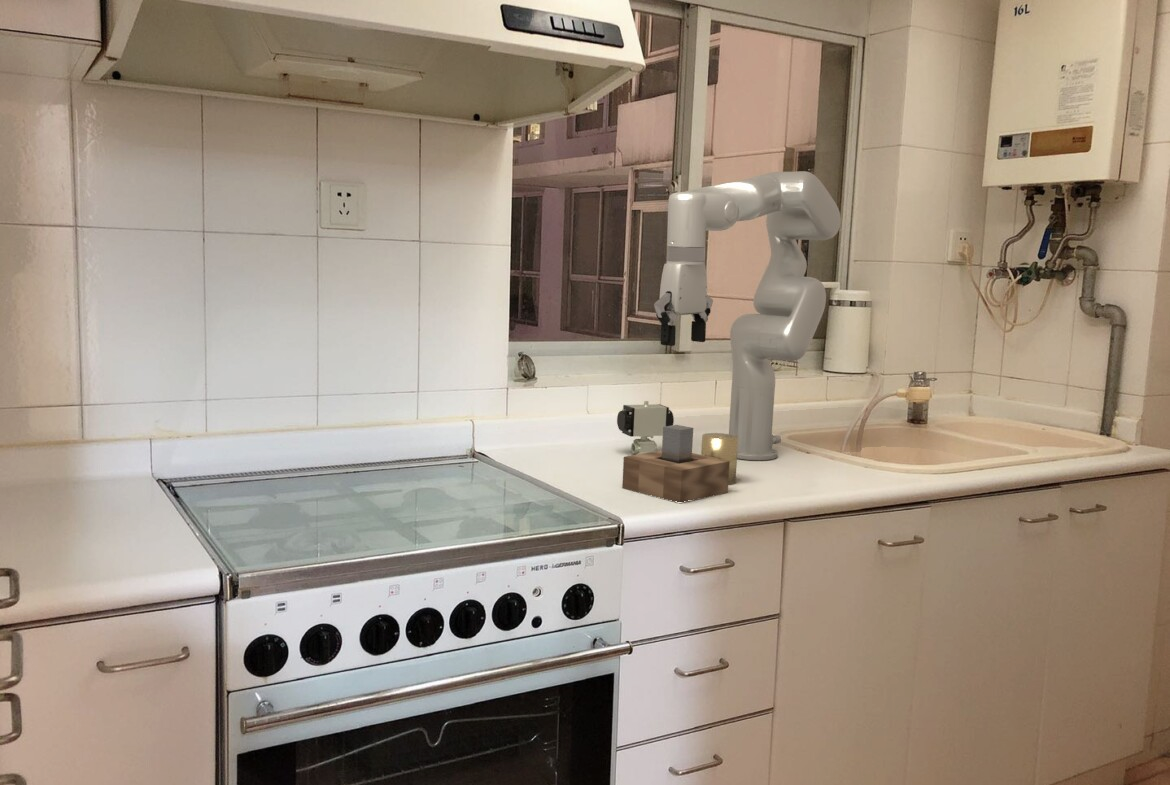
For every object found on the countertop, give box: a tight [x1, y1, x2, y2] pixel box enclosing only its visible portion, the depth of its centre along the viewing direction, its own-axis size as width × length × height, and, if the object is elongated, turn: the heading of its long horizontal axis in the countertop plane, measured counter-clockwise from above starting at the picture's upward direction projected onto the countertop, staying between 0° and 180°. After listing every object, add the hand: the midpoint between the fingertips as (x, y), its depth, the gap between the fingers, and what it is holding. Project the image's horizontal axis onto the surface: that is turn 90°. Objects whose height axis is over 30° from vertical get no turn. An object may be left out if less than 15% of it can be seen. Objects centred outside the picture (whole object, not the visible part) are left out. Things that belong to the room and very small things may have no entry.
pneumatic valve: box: [616, 400, 675, 455], centre depth 215 cm, size 6×12×12 cm, turn 112°
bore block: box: [621, 449, 730, 503], centre depth 184 cm, size 14×14×6 cm
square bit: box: [661, 424, 694, 464], centre depth 183 cm, size 4×4×12 cm
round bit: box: [700, 432, 738, 486], centre depth 192 cm, size 7×7×9 cm
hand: (683, 343), depth 195 cm, fingers open, 9 cm apart
